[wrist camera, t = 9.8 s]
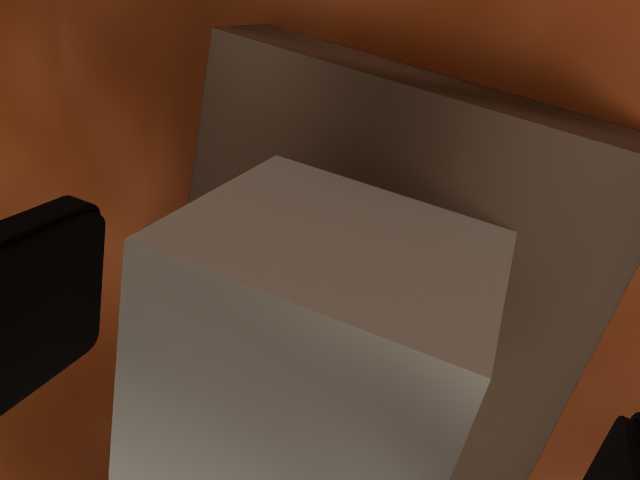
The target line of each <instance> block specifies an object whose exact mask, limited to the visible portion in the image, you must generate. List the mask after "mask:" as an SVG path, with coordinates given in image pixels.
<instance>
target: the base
mask: <svg viewBox="0 0 640 480" xmlns="http://www.w3.org/2000/svg"><path fill="white" fill-rule="evenodd" d="M276 155H278V156H281V157H284V158H287V159H290V160H293V161H296V162H300V163H303V164H306V165H309V166H312V167H315V168H318V169H321V170H325V171H328V172H331V173H334V174H337V175H340V176H343V177H346V178H350V179H353V180H356V181H359V182H362V183H365V184H368V185H372V186H375V187H378V188H381V189H384V190H387V191H390V192H393V193H397V194H400V195H403V196H406V197H409V198H412V199H415V200H419V201H422V202H425V203H428V204H431V205H434V206H437V207H440V208H444V209H447V210H450V211H453V212H456V213H459V214H462V215H465V216H469V217H472V218H475V219H478V220H481V221H484V222H487V223H490V224H494V225H497V226H500V227H503V228H506V229H509V230H512V231H515V232H517V235H516V241H515V246H514V252H513V258H512V263H511V269H510V275H509V280H508V286H507V292H506V297H505V303H504V309H503V314H502V320H501V326H500V331H499V337H498V343H497V348H496V354H495V360H494V365H493V371H492V377H491V380H490V383H489V385H488V388H487V390H486V393H485V395H484V398H483V400H482V402H481V405H480V407H479V410H478V412H477V415H476V417H475V420H474V422H473V424H472V427H471V429H470V432H469V434H468V437H467V439H466V441H465V444H464V446H463V449H462V451H461V454H460V456H459V459H458V461H457V463H456V466H455V468H454V471H453V473H452V476H451V478H450V480H528V478H529V476H530V474H531V472H532V470H533V468H534V466H535V464H536V462H537V460H538V459H539V457H540V455H541V453H542V451H543V449H544V447H545V445H546V443H547V441H548V439H549V437H550V435H551V433H552V432H553V430H554V428H555V426H556V424H557V422H558V420H559V418H560V416H561V414H562V412H563V410H564V408H565V406H566V405H567V403H568V401H569V399H570V397H571V395H572V393H573V391H574V389H575V387H576V385H577V383H578V381H579V379H580V378H581V376H582V374H583V372H584V370H585V368H586V366H587V364H588V362H589V360H590V358H591V356H592V354H593V352H594V351H595V349H596V347H597V345H598V343H599V341H600V339H601V337H602V335H603V333H604V331H605V329H606V327H607V325H608V324H609V322H610V320H611V318H612V316H613V314H614V312H615V310H616V308H617V306H618V304H619V302H620V300H621V298H622V297H623V295H624V293H625V291H626V289H627V287H628V285H629V283H630V281H631V279H632V277H633V275H634V273H635V271H636V269H637V268H638V266H639V264H640V131H639V130H635V129H632V128H628V127H625V126H621V125H618V124H614V123H611V122H607V121H604V120H600V119H597V118H593V117H590V116H586V115H583V114H580V113H576V112H573V111H569V110H566V109H562V108H559V107H555V106H552V105H548V104H545V103H541V102H538V101H534V100H531V99H527V98H524V97H520V96H517V95H513V94H510V93H506V92H503V91H499V90H496V89H492V88H489V87H485V86H482V85H478V84H475V83H471V82H468V81H464V80H461V79H457V78H454V77H450V76H447V75H443V74H440V73H436V72H433V71H429V70H426V69H422V68H419V67H415V66H412V65H408V64H405V63H401V62H398V61H394V60H391V59H387V58H384V57H380V56H377V55H373V54H370V53H366V52H363V51H359V50H356V49H352V48H349V47H345V46H342V45H338V44H335V43H331V42H328V41H325V40H321V39H318V38H314V37H311V36H307V35H304V34H300V33H297V32H293V31H290V30H286V29H283V28H279V27H276V26H272V25H269V24H257V25H243V26H230V27H216V28H212V32H211V39H210V47H209V54H208V62H207V69H206V77H205V84H204V92H203V99H202V107H201V114H200V121H199V129H198V136H197V144H196V151H195V159H194V166H193V174H192V181H191V189H190V196H189V203H190V202H192V201H194V200H196V199H198V198H199V197H201V196H203V195H205V194H207V193H208V192H210V191H212V190H214V189H216V188H218V187H219V186H221V185H223V184H225V183H227V182H228V181H230V180H232V179H234V178H236V177H237V176H239V175H241V174H243V173H245V172H247V171H248V170H250V169H252V168H254V167H256V166H257V165H259V164H261V163H263V162H265V161H267V160H268V159H270V158H272V157H274V156H276Z"/></svg>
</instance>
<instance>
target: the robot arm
mask: <svg viewBox="0 0 640 480" xmlns="http://www.w3.org/2000/svg"><path fill="white" fill-rule="evenodd" d="M104 240H105V220H104V218H103V217H102V216H101V213H100V210H99V208H98V207H97V206H96V205H94V204H91V203H89V202H86V201H83V200H81V199H78V198H75V197H73V196H69V195H67V196H63V197H60V198H57V199H55V200H52V201H50V202H47V203H44V204H42V205H39V206H37V207H34V208H31V209H29V210H26V211H24V212H21V213H18V214H16V215H13V216H11V217H8V218H5V219H3V220H0V416H1V415H3V414H4V413H5V412H7V411H8V410H9V409H11V408H12V407H13V406H15V405H16V404H18V403H19V402H20V401H22V400H23V399H24V398H26V397H27V396H28V395H30V394H31V393H33V392H34V391H35V390H37V389H38V388H39V387H41V386H42V385H43V384H45V383H46V382H47V381H49V380H50V379H52V378H53V377H54V376H56V375H57V374H58V373H60V372H61V371H62V370H64V369H65V368H67V367H68V366H69V365H71V364H72V363H73V362H75V361H76V360H77V359H79V358H80V357H82V356H83V355H84V354H86V353H87V352H88V351H89V350H90V349H91V348H92V347H93V346H94V344H95V343H96V341H97V338H98V335H99V323H100V307H101V290H102V273H103V256H104ZM583 480H640V412H637V413H635V414H634V415H633V416H632V417H631V418H630V419H629V418H626V417H624V416H619V417H618V418H617V419H616V421H615V422H614V424H613V425H612V427H611V429H610V431H609V433H608V435H607V436H606V438H605V440H604V442H603V444H602V445H601V447H600V449H599V451H598V453H597V454H596V456H595V458H594V460H593V462H592V464H591V465H590V467H589V469H588V471H587V473H586V474H585V476H584V478H583Z"/></svg>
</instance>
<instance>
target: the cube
mask: <svg viewBox="0 0 640 480" xmlns="http://www.w3.org/2000/svg"><path fill="white" fill-rule="evenodd" d="M516 235H517V232H515V231H512V230H509V229H506V228H503V227H500V226H497V225H494V224H490V223H487V222H484V221H481V220H478V219H475V218H472V217H469V216H465V215H462V214H459V213H456V212H453V211H450V210H447V209H444V208H440V207H437V206H434V205H431V204H428V203H425V202H422V201H419V200H415V199H412V198H409V197H406V196H403V195H400V194H397V193H393V192H390V191H387V190H384V189H381V188H378V187H375V186H372V185H368V184H365V183H362V182H359V181H356V180H353V179H350V178H346V177H343V176H340V175H337V174H334V173H331V172H328V171H325V170H321V169H318V168H315V167H312V166H309V165H306V164H303V163H300V162H296V161H293V160H290V159H287V158H284V157H281V156H278V155H276V156H274V157H272V158H270V159H268V160H267V161H265V162H263V163H261V164H259V165H257V166H256V167H254V168H252V169H250V170H248V171H247V172H245V173H243V174H241V175H239V176H237V177H236V178H234V179H232V180H230V181H228V182H227V183H225V184H223V185H221V186H219V187H218V188H216V189H214V190H212V191H210V192H208V193H207V194H205V195H203V196H201V197H199V198H198V199H196V200H194V201H192V202H190V203H189V204H187V205H185V206H183V207H181V208H179V209H178V210H176V211H174V212H172V213H170V214H169V215H167V216H165V217H163V218H161V219H159V220H158V221H156V222H154V223H152V224H150V225H149V226H147V227H145V228H143V229H141V230H140V231H138V232H136V233H134V234H132V235H130V236H129V237H127V238H125V239H124V246H123V261H122V277H121V292H120V307H119V323H118V338H117V354H116V369H115V385H114V400H113V415H112V431H111V446H110V462H109V477H108V480H450V478H451V476H452V473H453V471H454V468H455V466H456V463H457V461H458V459H459V456H460V454H461V451H462V449H463V446H464V444H465V441H466V439H467V437H468V434H469V432H470V429H471V427H472V424H473V422H474V420H475V417H476V415H477V412H478V410H479V407H480V405H481V402H482V400H483V398H484V395H485V393H486V390H487V388H488V385H489V383H490V380H491V377H492V371H493V365H494V360H495V354H496V348H497V343H498V337H499V331H500V326H501V320H502V314H503V309H504V303H505V297H506V292H507V286H508V280H509V275H510V269H511V263H512V258H513V252H514V246H515V241H516Z"/></svg>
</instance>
